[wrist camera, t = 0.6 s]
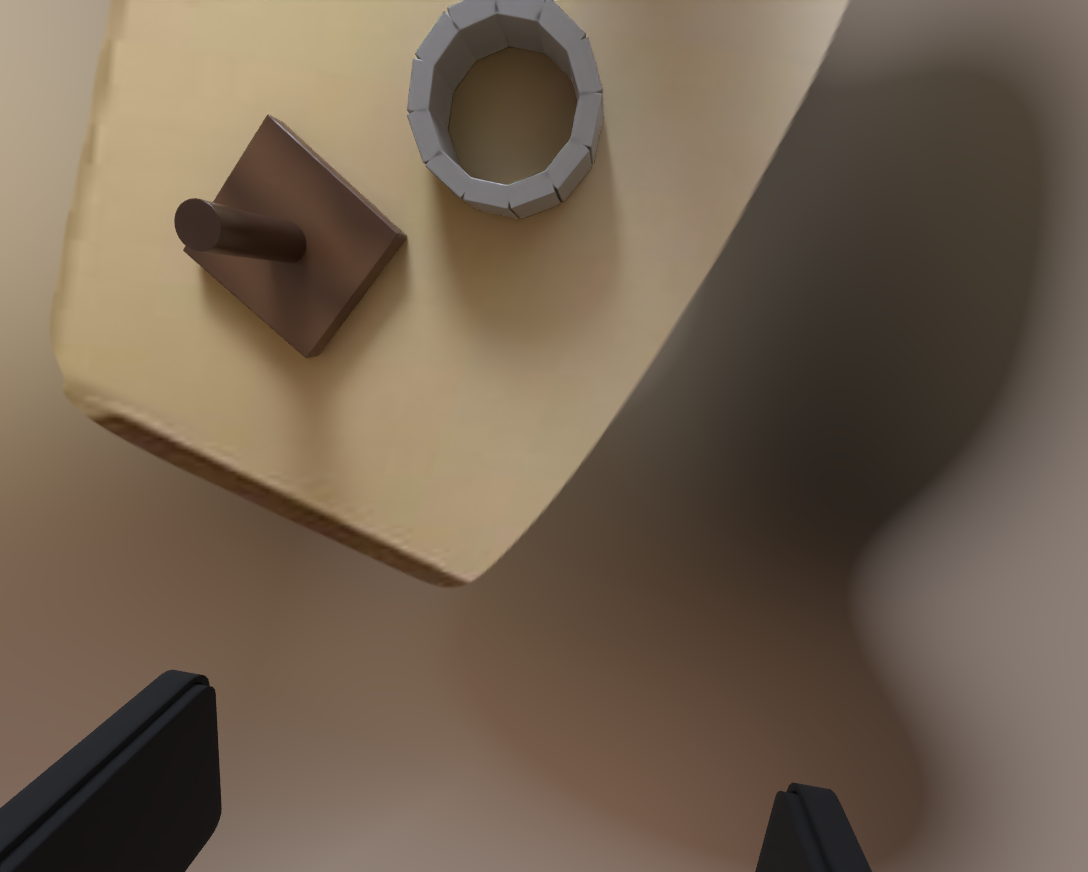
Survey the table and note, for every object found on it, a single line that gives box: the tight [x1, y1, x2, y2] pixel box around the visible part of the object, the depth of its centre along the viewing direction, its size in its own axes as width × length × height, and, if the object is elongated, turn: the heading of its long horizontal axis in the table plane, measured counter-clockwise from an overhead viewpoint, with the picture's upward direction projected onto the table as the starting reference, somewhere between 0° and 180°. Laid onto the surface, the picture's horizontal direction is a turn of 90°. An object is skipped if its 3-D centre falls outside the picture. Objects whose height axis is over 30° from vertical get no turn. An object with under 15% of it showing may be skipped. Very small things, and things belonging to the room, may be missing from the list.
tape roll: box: [407, 0, 603, 219], centre depth 30 cm, size 10×10×4 cm
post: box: [175, 115, 407, 358], centre depth 30 cm, size 10×10×9 cm
